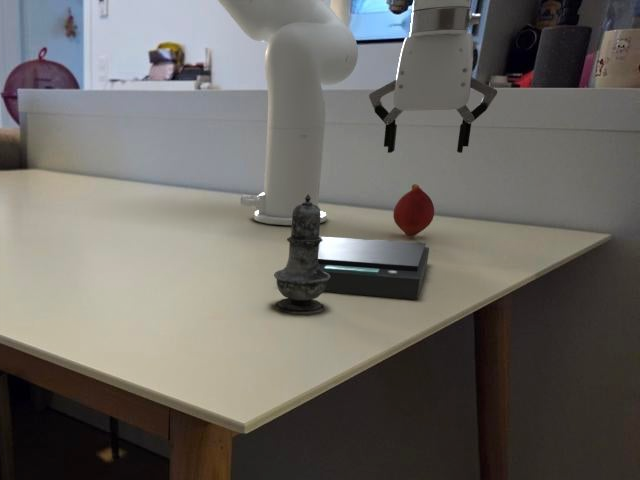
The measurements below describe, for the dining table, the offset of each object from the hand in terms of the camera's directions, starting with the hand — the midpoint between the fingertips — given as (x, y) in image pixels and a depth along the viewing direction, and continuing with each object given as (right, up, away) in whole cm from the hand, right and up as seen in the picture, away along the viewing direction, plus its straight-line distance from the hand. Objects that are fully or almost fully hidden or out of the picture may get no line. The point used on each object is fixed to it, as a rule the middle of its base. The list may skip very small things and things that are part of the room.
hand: (424, 152), depth 109 cm
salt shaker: (-26, -27, -30) cm, 47 cm away
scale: (-15, -21, -17) cm, 31 cm away
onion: (0, -12, +5) cm, 13 cm away
